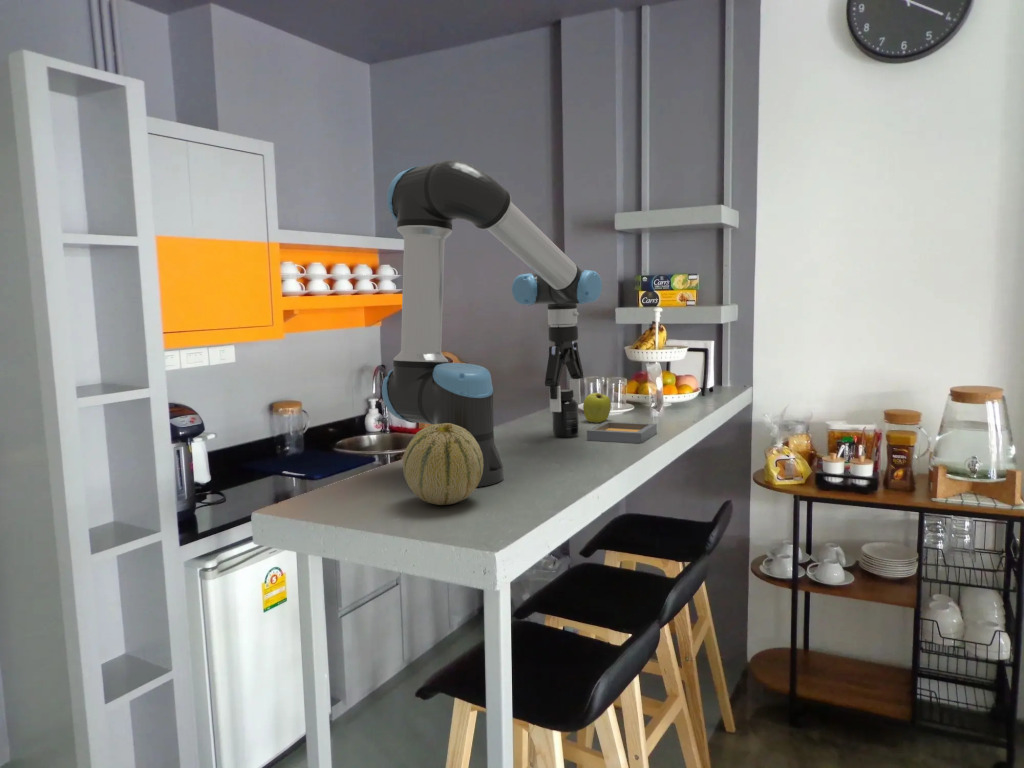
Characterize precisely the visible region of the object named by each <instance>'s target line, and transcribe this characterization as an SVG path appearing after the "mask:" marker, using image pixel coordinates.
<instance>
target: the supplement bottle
mask: <svg viewBox="0 0 1024 768" xmlns="http://www.w3.org/2000/svg"><path fill="white" fill-rule="evenodd" d="M560 393H561V412H551V417H552V418H551V422H552V424H551V425H552V434H553V435H552V436H553V437H554V438H557V439H569V438H576V437H578V436H579V434H580V427H579V426H580V425H579V423H580V422H579V403H577V402H576V401H575V400H573V397H574V392H573V390H570V389H560Z"/></svg>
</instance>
